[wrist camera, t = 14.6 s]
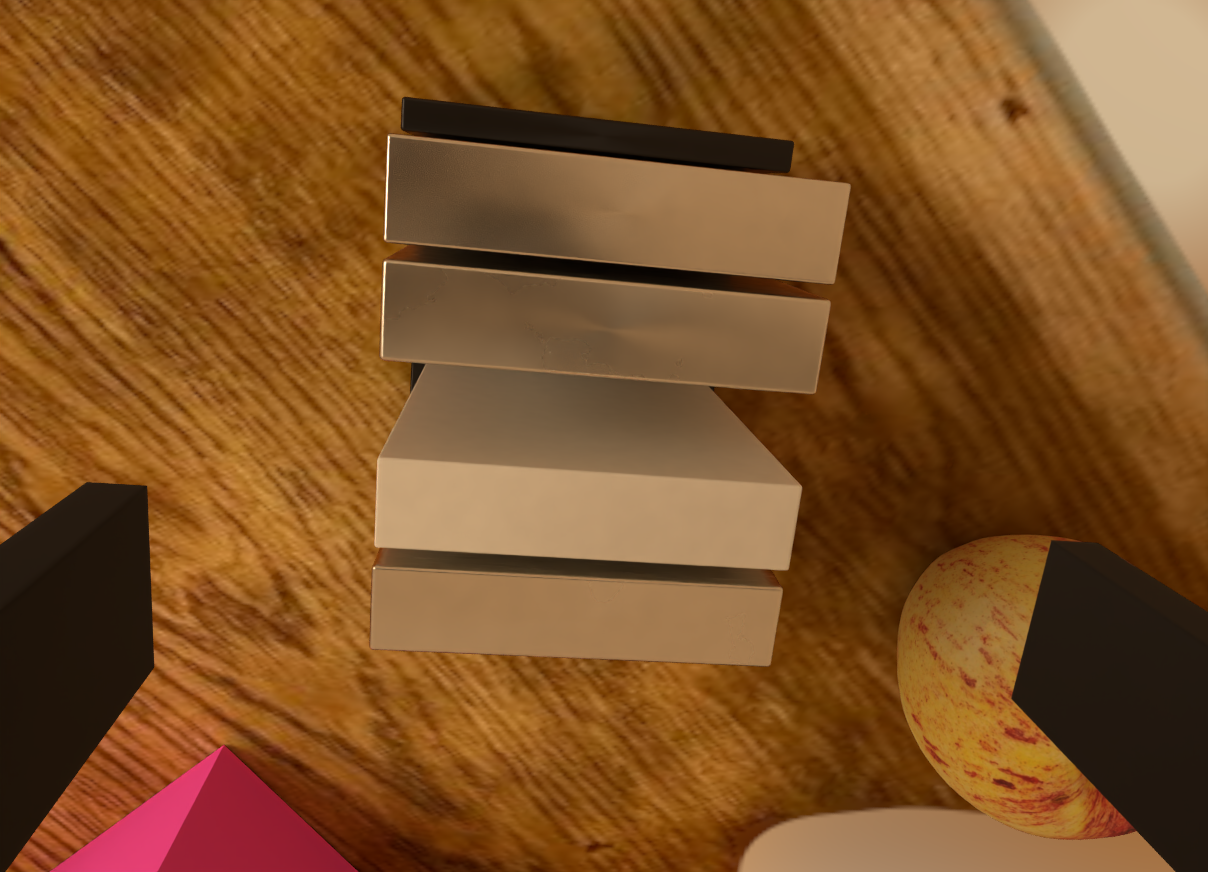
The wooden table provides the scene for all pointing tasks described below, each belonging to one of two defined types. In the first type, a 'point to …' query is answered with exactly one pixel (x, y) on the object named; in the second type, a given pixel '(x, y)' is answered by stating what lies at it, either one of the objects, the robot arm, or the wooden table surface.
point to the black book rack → (595, 344)
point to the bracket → (210, 829)
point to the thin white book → (581, 472)
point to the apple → (990, 691)
